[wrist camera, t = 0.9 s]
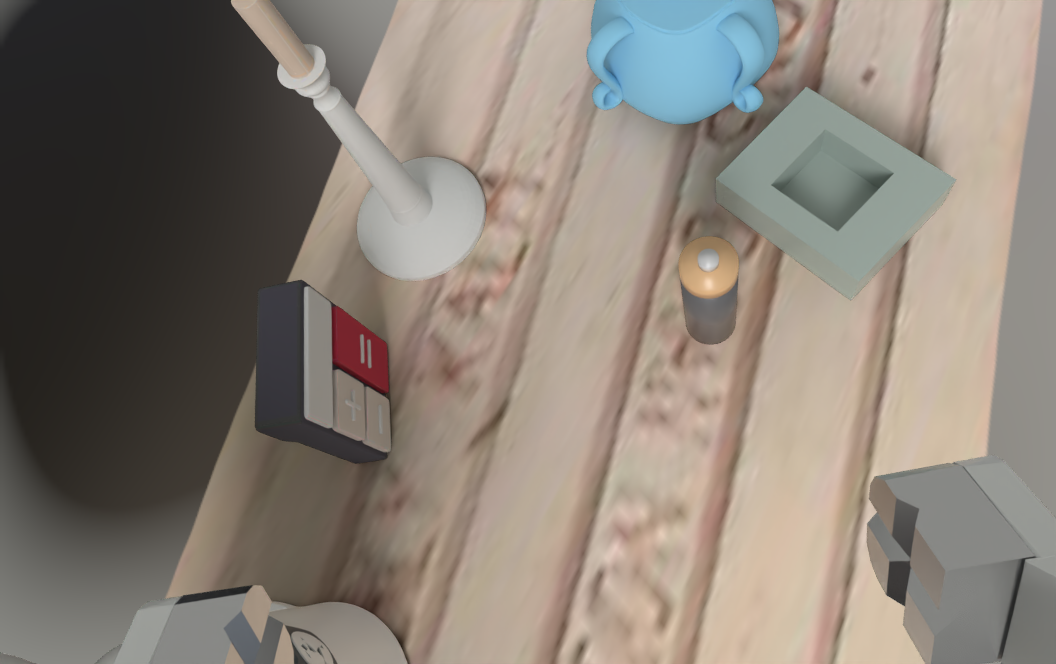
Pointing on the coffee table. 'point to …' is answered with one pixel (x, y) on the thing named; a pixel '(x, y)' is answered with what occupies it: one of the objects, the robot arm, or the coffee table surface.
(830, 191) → the block
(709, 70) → the decorative pot
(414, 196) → the candlestick
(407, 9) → the coffee table surface
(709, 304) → the battery cell
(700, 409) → the coffee table surface
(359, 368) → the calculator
